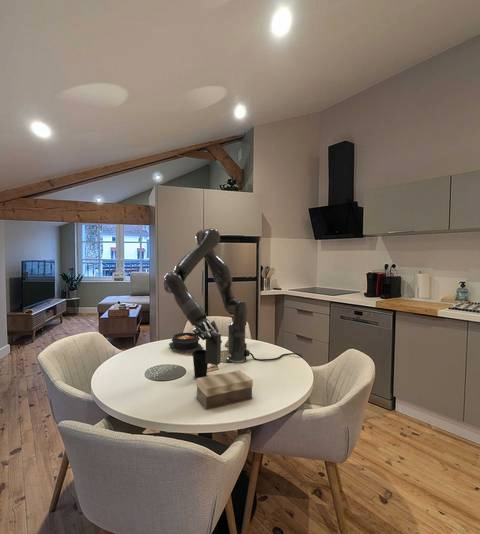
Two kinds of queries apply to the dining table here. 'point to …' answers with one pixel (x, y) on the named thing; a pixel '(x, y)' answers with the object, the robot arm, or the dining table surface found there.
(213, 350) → the dark grey rectangular block
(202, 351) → the cup
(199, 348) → the casserole
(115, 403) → the dining table surface
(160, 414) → the dining table surface
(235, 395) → the lidded shoe box
